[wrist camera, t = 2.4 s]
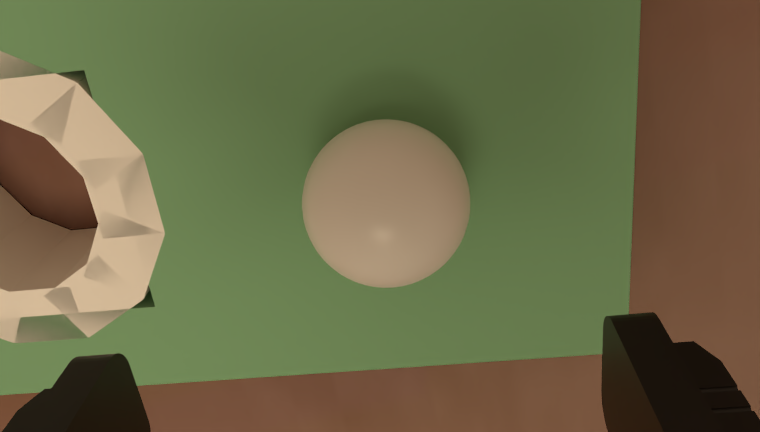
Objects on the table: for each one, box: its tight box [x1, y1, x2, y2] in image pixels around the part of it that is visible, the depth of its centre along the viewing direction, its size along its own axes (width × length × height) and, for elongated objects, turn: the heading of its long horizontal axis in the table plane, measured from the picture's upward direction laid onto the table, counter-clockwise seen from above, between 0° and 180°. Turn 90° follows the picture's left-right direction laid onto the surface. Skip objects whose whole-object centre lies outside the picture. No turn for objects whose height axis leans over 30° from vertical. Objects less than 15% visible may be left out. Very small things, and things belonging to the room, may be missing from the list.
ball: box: [302, 119, 470, 288], centre depth 18 cm, size 4×4×4 cm
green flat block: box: [0, 0, 641, 395], centre depth 23 cm, size 26×14×4 cm, turn 97°
